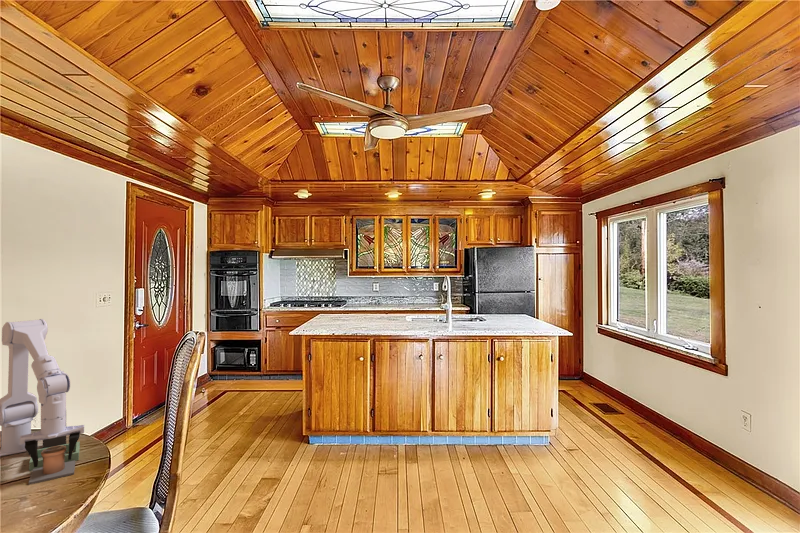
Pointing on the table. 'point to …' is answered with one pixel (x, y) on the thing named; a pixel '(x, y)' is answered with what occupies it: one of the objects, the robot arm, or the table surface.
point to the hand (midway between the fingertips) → (53, 462)
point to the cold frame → (74, 456)
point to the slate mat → (40, 477)
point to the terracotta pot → (53, 459)
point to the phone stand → (54, 441)
